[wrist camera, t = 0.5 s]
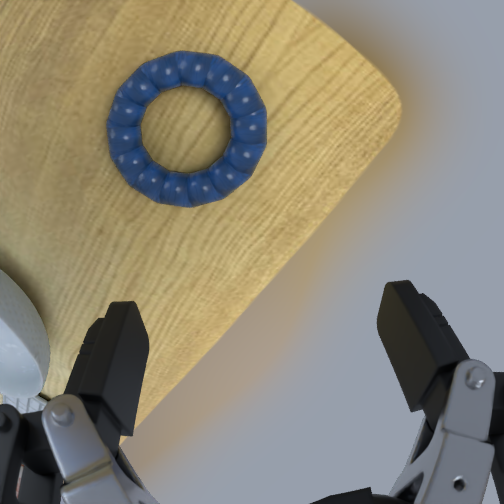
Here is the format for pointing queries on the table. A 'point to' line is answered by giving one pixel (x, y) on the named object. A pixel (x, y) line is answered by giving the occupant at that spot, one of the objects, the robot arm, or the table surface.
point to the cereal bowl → (21, 343)
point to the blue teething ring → (216, 83)
